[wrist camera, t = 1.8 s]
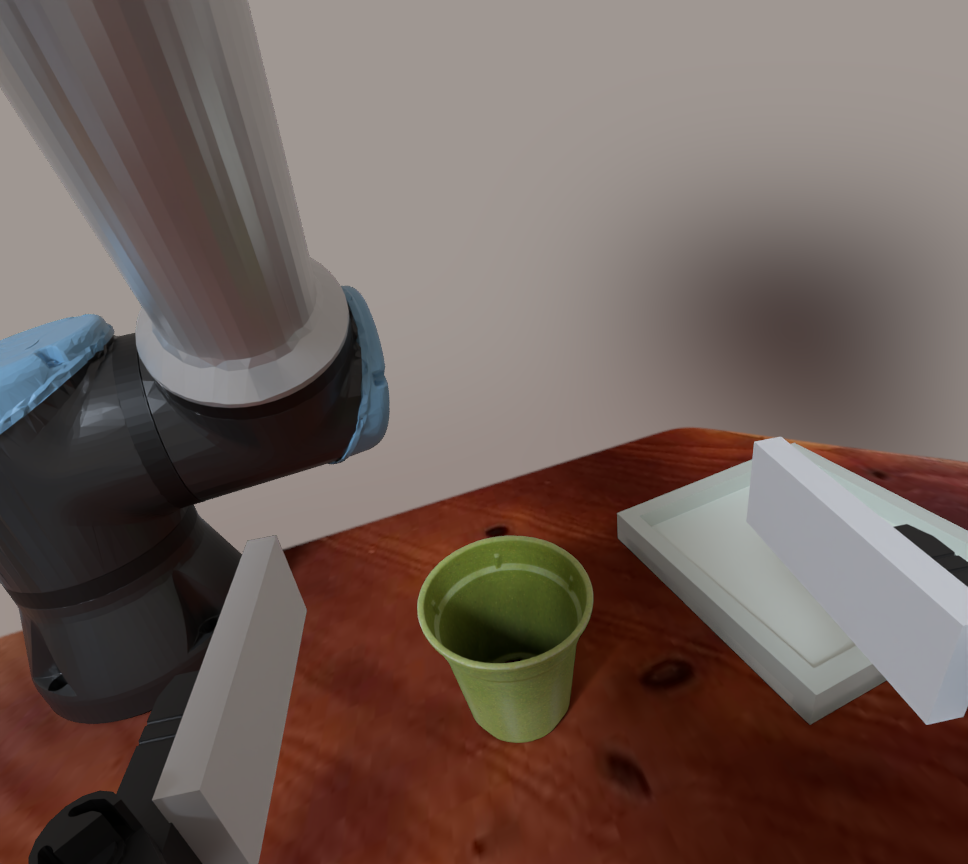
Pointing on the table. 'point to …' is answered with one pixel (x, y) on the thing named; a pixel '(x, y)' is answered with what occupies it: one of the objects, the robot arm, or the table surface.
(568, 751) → the table surface
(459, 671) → the plant pot
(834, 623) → the tray
